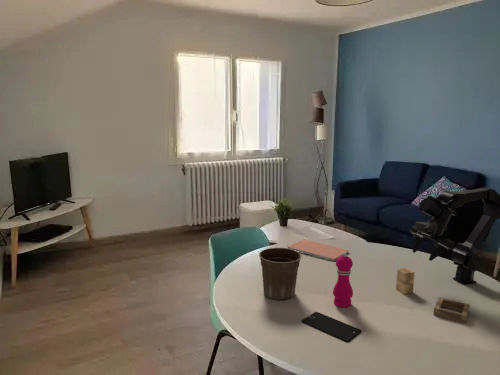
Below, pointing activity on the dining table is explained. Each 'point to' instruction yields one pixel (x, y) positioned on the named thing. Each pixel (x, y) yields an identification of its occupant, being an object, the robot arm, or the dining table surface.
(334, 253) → the notebook
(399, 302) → the dining table surface
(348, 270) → the pepper mill
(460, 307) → the walnut holder
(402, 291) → the oak block
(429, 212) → the robot arm
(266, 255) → the plant pot
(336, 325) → the cell phone
